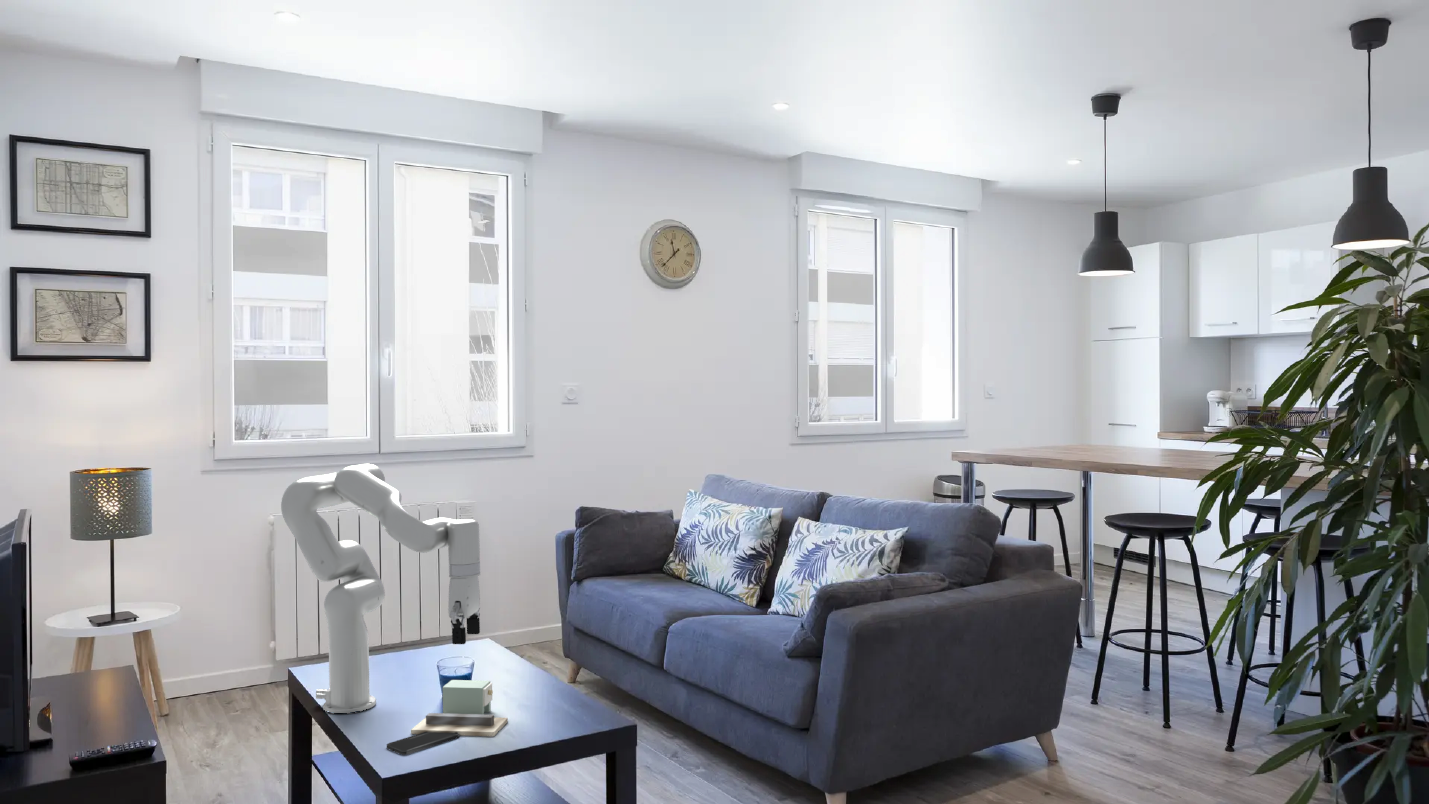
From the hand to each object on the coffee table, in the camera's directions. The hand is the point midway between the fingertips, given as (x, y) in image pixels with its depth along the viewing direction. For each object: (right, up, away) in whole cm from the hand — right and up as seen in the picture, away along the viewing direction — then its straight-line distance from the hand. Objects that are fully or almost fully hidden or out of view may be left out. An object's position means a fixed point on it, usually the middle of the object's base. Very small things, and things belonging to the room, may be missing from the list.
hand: (466, 638), depth 247 cm
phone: (-5, -20, -19) cm, 28 cm away
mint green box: (0, -19, 0) cm, 19 cm away
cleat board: (+1, -19, -10) cm, 21 cm away
